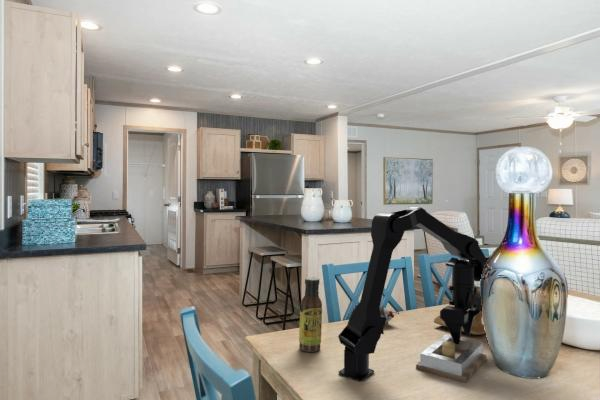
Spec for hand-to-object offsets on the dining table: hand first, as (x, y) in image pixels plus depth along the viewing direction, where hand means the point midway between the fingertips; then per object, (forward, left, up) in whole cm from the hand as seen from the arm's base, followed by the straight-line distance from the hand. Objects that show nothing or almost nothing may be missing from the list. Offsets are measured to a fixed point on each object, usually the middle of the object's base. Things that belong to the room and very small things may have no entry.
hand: (462, 339), depth 110 cm
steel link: (-8, 0, -3) cm, 8 cm away
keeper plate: (-8, 0, -4) cm, 9 cm away
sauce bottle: (-24, +34, -4) cm, 42 cm away
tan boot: (+21, +6, -4) cm, 22 cm away
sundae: (+3, +37, -2) cm, 37 cm away
